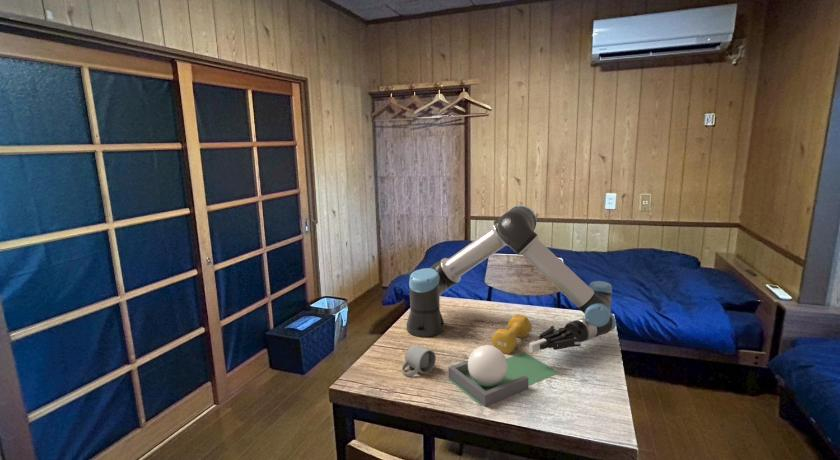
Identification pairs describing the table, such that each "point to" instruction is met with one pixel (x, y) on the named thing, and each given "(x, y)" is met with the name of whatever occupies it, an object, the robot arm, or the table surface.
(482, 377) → the ball
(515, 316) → the dumbbell
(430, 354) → the ceramic mug
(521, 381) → the grey open tray
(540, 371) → the green mat
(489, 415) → the table surface
